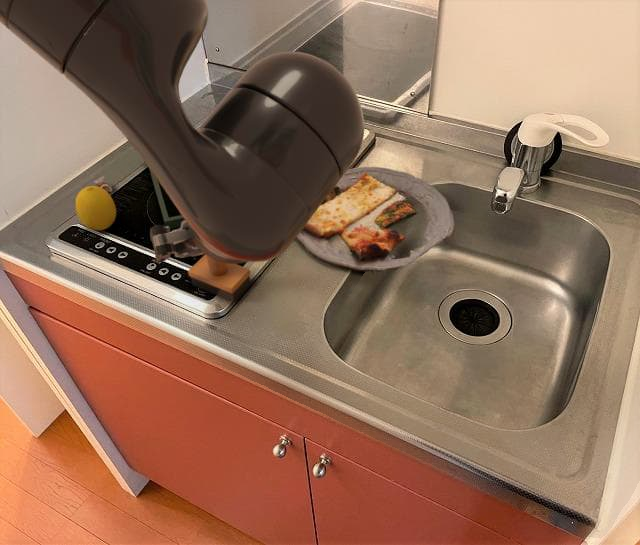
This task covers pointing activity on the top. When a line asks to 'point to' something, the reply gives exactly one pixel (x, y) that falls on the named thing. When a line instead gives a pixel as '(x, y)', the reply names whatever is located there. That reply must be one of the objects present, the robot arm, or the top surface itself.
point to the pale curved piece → (104, 185)
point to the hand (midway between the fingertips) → (223, 237)
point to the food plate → (360, 199)
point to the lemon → (95, 208)
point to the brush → (220, 277)
